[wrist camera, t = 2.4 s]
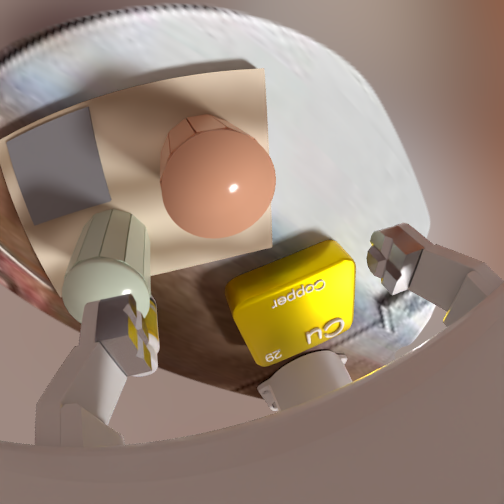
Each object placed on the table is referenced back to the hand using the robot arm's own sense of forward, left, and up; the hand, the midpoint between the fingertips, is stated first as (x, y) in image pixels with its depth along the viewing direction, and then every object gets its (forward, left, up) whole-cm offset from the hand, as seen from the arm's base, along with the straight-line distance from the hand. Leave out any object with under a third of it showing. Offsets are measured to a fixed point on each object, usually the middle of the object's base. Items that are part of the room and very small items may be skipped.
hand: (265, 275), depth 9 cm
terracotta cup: (0, 0, -15) cm, 15 cm away
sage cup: (-6, +9, -15) cm, 19 cm away
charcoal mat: (+2, +12, -15) cm, 19 cm away
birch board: (-2, +6, -17) cm, 18 cm away
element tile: (-21, -9, -18) cm, 29 cm away
